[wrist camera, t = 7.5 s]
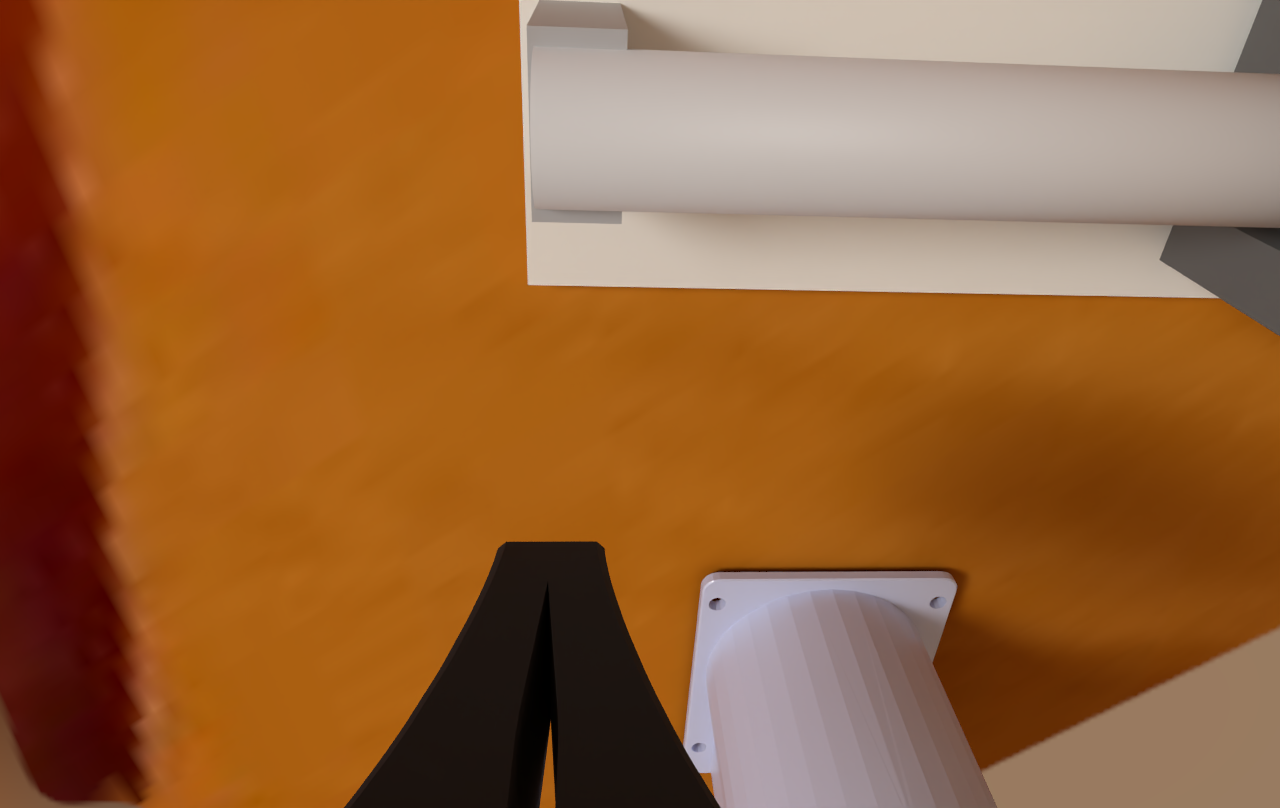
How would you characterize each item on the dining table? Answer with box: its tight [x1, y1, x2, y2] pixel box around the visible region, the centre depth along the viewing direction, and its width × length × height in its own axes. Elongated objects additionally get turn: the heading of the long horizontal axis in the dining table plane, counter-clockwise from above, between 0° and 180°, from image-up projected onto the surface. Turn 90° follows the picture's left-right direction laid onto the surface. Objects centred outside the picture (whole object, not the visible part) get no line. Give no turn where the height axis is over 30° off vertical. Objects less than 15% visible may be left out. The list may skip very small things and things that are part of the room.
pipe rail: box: [519, 0, 1280, 298], centre depth 16 cm, size 22×9×6 cm, turn 88°
